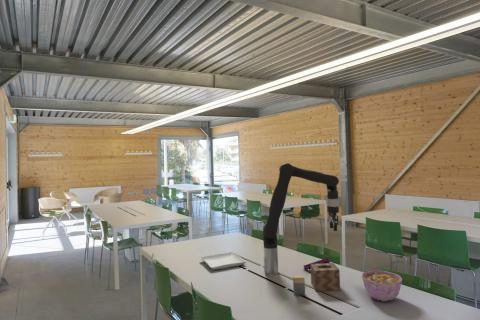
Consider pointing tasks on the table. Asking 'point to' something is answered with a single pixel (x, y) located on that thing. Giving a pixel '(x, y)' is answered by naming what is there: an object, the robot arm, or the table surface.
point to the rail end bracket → (299, 285)
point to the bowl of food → (382, 284)
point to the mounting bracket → (317, 262)
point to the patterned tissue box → (325, 277)
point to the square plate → (223, 260)
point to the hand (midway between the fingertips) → (333, 229)
